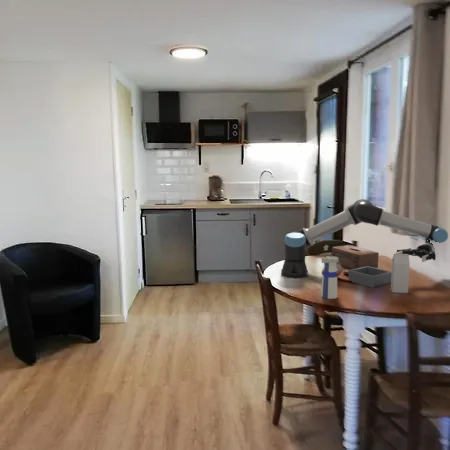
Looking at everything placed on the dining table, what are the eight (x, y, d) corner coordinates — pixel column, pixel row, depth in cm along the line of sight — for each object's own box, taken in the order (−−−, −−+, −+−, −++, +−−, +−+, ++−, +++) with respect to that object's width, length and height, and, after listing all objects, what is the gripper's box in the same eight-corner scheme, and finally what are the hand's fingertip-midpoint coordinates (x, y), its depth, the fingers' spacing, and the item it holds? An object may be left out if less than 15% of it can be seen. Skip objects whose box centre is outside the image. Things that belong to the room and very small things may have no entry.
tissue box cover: (377, 268, 276) (378, 252, 274) (359, 271, 270) (359, 254, 268) (349, 260, 299) (350, 245, 297) (331, 262, 293) (332, 247, 291)
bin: (373, 287, 235) (373, 276, 234) (348, 281, 248) (348, 270, 247) (392, 282, 244) (392, 271, 244) (367, 276, 257) (367, 266, 256)
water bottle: (316, 296, 222) (317, 245, 218) (326, 292, 228) (327, 243, 224) (331, 300, 216) (332, 248, 212) (340, 296, 222) (342, 245, 218)
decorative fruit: (335, 275, 260) (336, 258, 258) (344, 279, 252) (345, 261, 251) (321, 277, 256) (322, 259, 255) (330, 281, 249) (330, 263, 247)
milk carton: (408, 293, 226) (410, 255, 223) (392, 292, 227) (394, 255, 224) (405, 289, 233) (407, 252, 230) (390, 288, 234) (392, 252, 231)
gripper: (449, 260, 242) (434, 268, 227) (402, 254, 259) (385, 260, 244) (450, 246, 241) (434, 253, 226) (403, 241, 258) (386, 247, 243)
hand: (409, 257), depth 235 cm, fingers open, 13 cm apart
